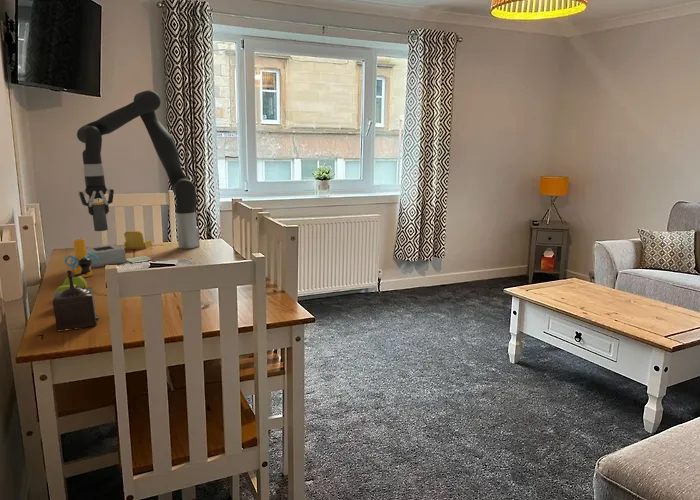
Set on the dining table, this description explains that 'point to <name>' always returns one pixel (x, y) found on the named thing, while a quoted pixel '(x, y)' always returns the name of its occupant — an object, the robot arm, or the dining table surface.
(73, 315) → the coffee grinder
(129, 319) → the dining table surface
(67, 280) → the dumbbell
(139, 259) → the mat
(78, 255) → the yellow blue looped piece
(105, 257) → the housing
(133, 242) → the yellow piece
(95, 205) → the plug
